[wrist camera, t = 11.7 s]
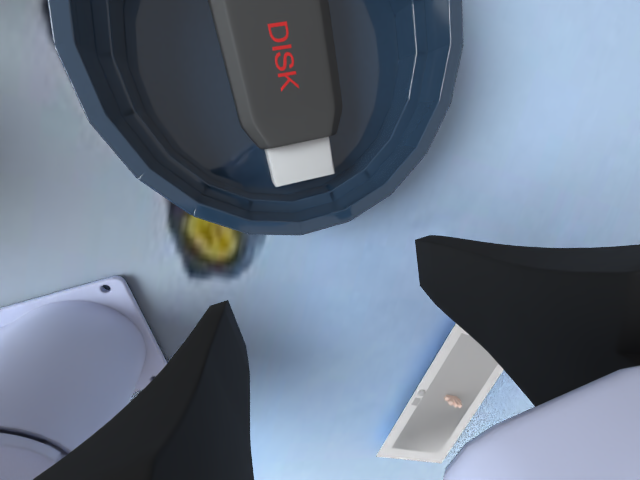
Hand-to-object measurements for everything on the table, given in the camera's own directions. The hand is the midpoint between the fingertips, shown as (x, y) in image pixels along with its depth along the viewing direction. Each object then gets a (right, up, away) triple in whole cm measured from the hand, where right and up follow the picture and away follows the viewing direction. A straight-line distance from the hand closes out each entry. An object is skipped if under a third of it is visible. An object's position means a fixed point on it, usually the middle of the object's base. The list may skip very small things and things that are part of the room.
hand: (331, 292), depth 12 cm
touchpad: (+11, -12, +18) cm, 24 cm away
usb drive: (-3, +11, +5) cm, 13 cm away
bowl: (-3, +11, +5) cm, 13 cm away
